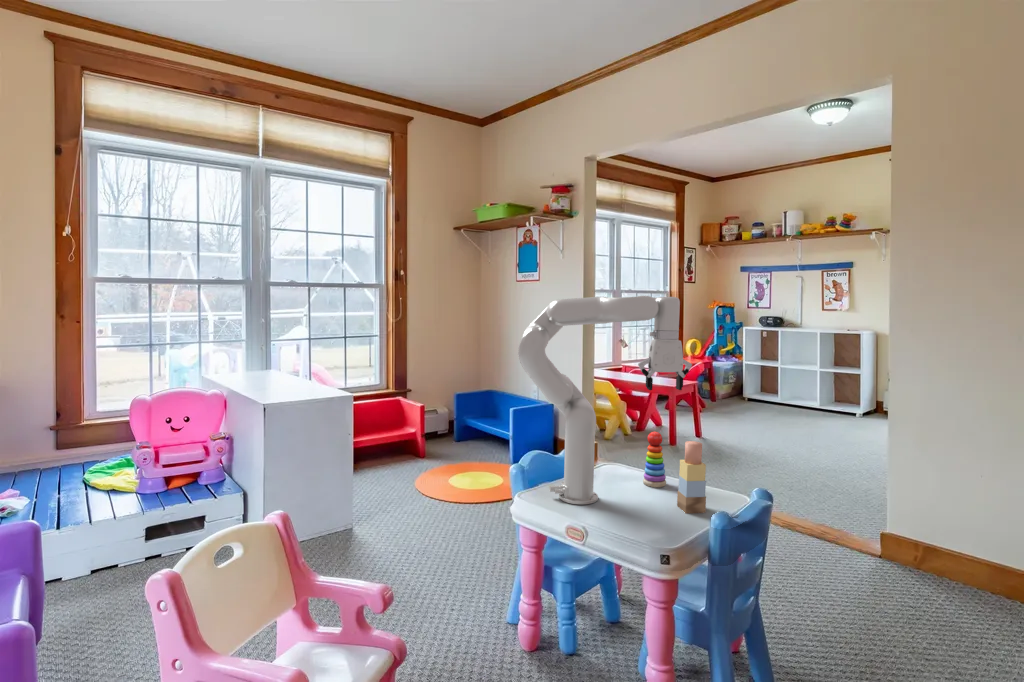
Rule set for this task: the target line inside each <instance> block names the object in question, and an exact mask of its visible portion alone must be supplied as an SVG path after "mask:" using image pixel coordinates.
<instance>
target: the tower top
mask: <svg viewBox="0 0 1024 682" xmlns="http://www.w3.org/2000/svg"><path fill="white" fill-rule="evenodd" d="M706 467H707V464H706V463H704V462H702V463H701V464H698V465H693V464H688V463H685V459H679V472H678V476H679V475H680V476H681V477H682V478H683V479H685V480H686V481H706V474H707V472H706Z"/></svg>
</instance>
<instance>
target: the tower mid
mask: <svg viewBox="0 0 1024 682" xmlns="http://www.w3.org/2000/svg"><path fill="white" fill-rule="evenodd" d="M706 483H707V481H706V480H705V481H686V480H685V479H683V478H682V477H681V476H680V475H679V474H678V491H679V492H681V493H682V494H683V495H684V496H685V497H706V489H707V488H706V486H707V485H706Z"/></svg>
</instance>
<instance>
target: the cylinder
mask: <svg viewBox="0 0 1024 682" xmlns="http://www.w3.org/2000/svg"><path fill="white" fill-rule="evenodd" d="M702 456H703V443H702V442H699V441H695V440H694V441H693V440H690V441H689V440H688V441H685V443H684V460H685V463H688V464H693V465H698V464H701V463H703V462H702V461H703V460H702V459H703V457H702Z"/></svg>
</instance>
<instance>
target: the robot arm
mask: <svg viewBox="0 0 1024 682" xmlns="http://www.w3.org/2000/svg"><path fill="white" fill-rule="evenodd" d="M680 305H681V301H680V299H679V298H678V297H677V296H676V297H675V296H658V297H654V296H650V295H638V296H627V297H626V296H625V297H624V296H623V297H609V296H607V297H606V296H593V297H590V296H589V297H577V298H562V299H561V298H560V299H559V298H558V299H554V300H552V301H551V302H550V303H549V304H548V305H547V306H546V307H545V309H544V310H543V311H542V312H541V313H540V314H539V315H538V316H537V317H536V318H535V319H534V320H533V321H532V322H531V323H530V324H529V325H528V326H527V327H526V328H525V330H524V331H523V333H522V334H521V335H522V336H521V338H520V342H519V345H518V354H517V355H518V361H519V363H520V365H521V367H522V369H523V370H524V372H525V373H526V374H527V375H528V377H529V378H530V379H531V381H532V382H533V383H534V384H535V386H536V387H537V388H538V389H539V390H540V392H541V393H542V394H543V395H544V397H545V398H546V400H547V401H548V402H549V403H550V404H553V405H555V407H556V408H557V409H558V410H559V411H560V413H561V414H562V415H563V417H564V418H565V419H564V420H565V426H564V427H565V431H564V466H563V468H564V469H563V471H564V472H563V473H564V474H563V481H562V482H561V484H558V485H548V486H549V490H548V491H549V492H550V493H554V494H555V495H557V494H558V498H559V499H560V500H561V501H562V502H564V503H568V504H571V505H591V504H594V503H596V502H597V501H599V500H598V499H599V495H598V494H597V493H596V492H595V491H594V478H595V477H594V476H595V475H594V474H595V472H594V471H595V440H596V439H595V438H596V428H597V427H596V426H597V416H596V411H595V410H594V407H593V406H592V404H591V403H590V401H589V400H588V399H587V398H586V397H585V395H584V394H583V393H582V392H581V391H580V390H579V388H578V387H577V386H576V385H575V384H574V382H573V381H572V380H571V379H570V378H569V377H568V376H567V375H566V374H564V373H561V371H560V370H558V368H557V367H556V366H555V365H554V363H553V362H552V361H551V360H550V359H549V357H548V355H547V354H546V348H547V346H548V344H549V342H550V341H551V340H552V338H553V337H555V336H556V334H557V333H558V332H559V331H560V330H561V329H562V328H563V327H565V326H566V327H567V326H580V325H599V324H601V325H602V324H603V325H605V324H610V323H626V322H642V321H650V320H652V319H653V320H654V322H653V323H654V326H653V331H650V332H649V336H650V337H652V338H653V339H652V340H651V343H650V347H649V352H648V357H647V358H646V359H644V360H642V361H640V362H638V364H637V366H638V367H639V368H638V369H640V372H641V373H642V374H643V376H645V388H646V389H647V390H648V391H652V390H653V385H654V384H653V380H654V378H653V377H652V376H654V374H655V373H675V374H677V376H676V378H675V389H676V390H678V391H682V390H683V386H684V378H685V377H686V376H687V374H688V373H689V372H690V370H691V369H692V366H693V364H692V363H691V362H689V361H687V360H686V359H684V353H683V345H682V340H679V337H680V336H679V331H680V329H679V328H680V310H681V309H680V307H681V306H680ZM646 365H647V367H648V369H646V368H645V366H646Z"/></svg>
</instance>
